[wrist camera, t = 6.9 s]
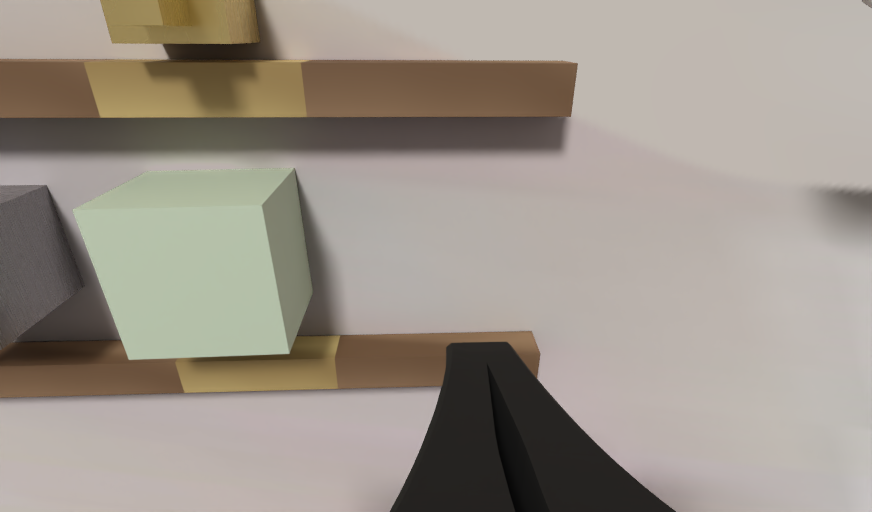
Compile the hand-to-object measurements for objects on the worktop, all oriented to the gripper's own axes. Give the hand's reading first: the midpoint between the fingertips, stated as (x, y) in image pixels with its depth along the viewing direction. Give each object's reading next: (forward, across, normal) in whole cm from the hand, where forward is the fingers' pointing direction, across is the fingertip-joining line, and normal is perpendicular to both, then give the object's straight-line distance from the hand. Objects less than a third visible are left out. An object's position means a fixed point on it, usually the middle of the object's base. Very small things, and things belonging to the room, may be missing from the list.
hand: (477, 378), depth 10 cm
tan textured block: (+8, +8, -8) cm, 13 cm away
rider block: (+8, +8, 0) cm, 11 cm away
